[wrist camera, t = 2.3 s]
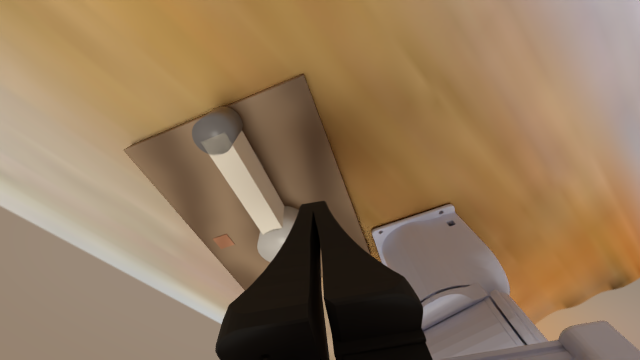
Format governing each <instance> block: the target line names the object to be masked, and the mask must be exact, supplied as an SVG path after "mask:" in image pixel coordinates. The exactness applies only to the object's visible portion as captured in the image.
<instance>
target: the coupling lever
mask: <svg viewBox="0 0 640 360" xmlns="http://www.w3.org/2000/svg"><path fill="white" fill-rule="evenodd" d="M242 128H243V123H242V120H241V118H240V116H239V115H238V113H237V112H236V111H234V110H233V109H231V108H228V107H217V108H215V109H213V110H212V111H211V112H209V113H208V114H207V115H205V116H204V117H203V118H201V119H200V120H199V121H197V122H196V123H195V125H194V126H193V129H192V138H193V141H194V143H195V144H196V145H197V147H198V148H199V149H200V150H202V151H203V152H205V153H207V154H209V155H210V157H211V158H212V160H213V161H214V163H215V164H216V166H217V167H218V169H219V170H220V172H221V173H222V175H223V176H224V177H225V179H226V180H227V182H228V183H229V185H230V186H231V188H232V189H233V191H234V192H235V194H236V195H237V197H238V198H239V200H240V201H241V203H242V204H243V206H244V207H245V209H246V210H247V212H248V213H249V215H250V216H251V218H252V219H253V221H254V222H255V224H256V225H257V227H258V228H259V230H260V234H259V239H258V244H257V249H258V252H259V254H260V255H261V256H262V257H263V258H264V259H265V260H267V261H269V262H271V261H272V260H273V259H274V257H275V256H276V254H277V253H278V251H279V250H280V248H281V247H282V245H283V243H284V242H285V240H286V238H287V236H288V234H289V232H290V230H291V228H292V226H293V224H294V222H295V219H296V217H297V214H298V211H299V210H297V209H296V208H293V207H289V206H284V205H283V203H282V201H281V199H280V197H279V196H278V194H277V192H276V190H275V189H274V187H273V185H272V183H271V181H270V180H269V178H268V176H267V174H266V172H265V171H264V169H263V167H262V165H261V163H260V162H259V160H258V158H257V156H256V155H255V153H254V151H253V149H252V147H251V146H250V144H249V142H248V140H247V138H246V137H245V135H244V133H243V131H242Z"/></svg>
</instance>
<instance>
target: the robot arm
mask: <svg viewBox="0 0 640 360" xmlns="http://www.w3.org/2000/svg"><path fill="white" fill-rule="evenodd" d="M440 211H441V212H440ZM379 231H381V232H379ZM372 235H373V238H374V241H375V244H376V247H377V250H378V253H379V256H380V259H381V261H382V263H381V262H379V261H378V260H376V259H375V258H374V257H373V256H371V255H370V254H369V253H367V252H366V251H365V250H364V249H362V248H361V247H360V246H359V245H358V244H357V243H356V242H355V241H354V240H353V239H352V238H351V237H350V236H349V235H348V234H347V233H346V232H345V231H344V229H343V228H342V227H341V226H340V225H339V223H338V222H337V220H336V219H335V218H334V216H333V215H332V213H331V211H330V210H329V208H328V206H327V203H326V202H325V201H318V202H312V203H306V204H301V206H300V208H299V211H298V214H297V217H296V219H295V222H294V224H293V226H292V228H291V230H290V232H289V234H288V236H287V238H286V240H285V242H284V243H283V245H282V247H281V248H280V250H279V251H278V253H277V254H276V256H275V257H274V259H273V260H272V261H271V263H270V264H269V265H268V266H267V268H266V269H265V270H264V271H263V273H262V274H261V275H260V276H259V277H258V278H257V279H256V280H255V281H254V282H253V284H252V285H251V286H250V287H249V288H248V289H247V290H245V291H244V292H243V293H242V294H241V295H240V296H239V297H238V298H237V299H236V300H234V301H233V302H232V303H231V304H230V305H229V307H228V309H227V312H226V314H225V317H224V319H223V322H222V325H221V329H220V332H219V336H218V339H217V343H216V353H217V356H218V357H219V359H220V360H329V352H328V344H327V336H326V327H325V318H324V310H323V301H322V290H321V257H322V270H323V288H324V301H325V305H326V310H327V314H328V319H329V323H330V328H331V332H332V339H333V347H334V355H335V357H336V360H640V351H639V350H638V349H637V348H636V347H635V346H633V344H631V343H630V342H629V341H628V340H627V339H626V338H625V337H624V336H622V335H621V334H620V333H619V332H618V331H617V330H615V328H614V327H612V326H611V325H610V324H609V323H608V322H606V321H597V322H591V323H585V324H578V325H574V326H570V327H568V328H566V329H565V330H563V331H562V333H561V334H560V336H559V340H555V341H548V340H547V339H546V338H545V337H544V335H543V334H542V333H541V332H540V331H539V330H538V329H537V327H536V326H535V325H534V324H533V323H532V321H531V320H530V319H529V318H528V317H527V316H526V314H525V313H524V312H523V311H522V310H521V309H520V307H519V306H518V305H517V304H516V303H515V302H514V301H513V299H512V298H511V297H510V296H509V294H510V287H509V283H508V279H507V276H506V274H505V272H504V270H503V268H502V266H501V265H500V263H499V261H498V260H497V258H496V257H495V255H494V254H493V253H492V251H491V250H490V249H489V248H488V247H487V246H486V245H485V244H484V242H483V241H482V240H481V239H480V238H479V237H478V236H477V235H476V234H475V233H474V232H473V231H472V230H471V229H470V228H469V227H468V225H467V224H466V223H465V222H464V221H463V220H462V219H461V218H460V217H459V216H458V215H457V214H456V213H455V208H454V206H453V205H452V204H448V205H445V206H442V207H439V208H436V209H433V210H430V211H427V212H424V213H421V214H418V215H415V216H412V217H409V218H406V219H403V220H400V221H397V222H393V223H390V224H387V225H384V226H381V227H378V228H375V229H373V230H372Z"/></svg>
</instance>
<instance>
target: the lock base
mask: <svg viewBox="0 0 640 360" xmlns="http://www.w3.org/2000/svg"><path fill="white" fill-rule="evenodd" d="M224 107H228V108H231V109H233V110H234V111H236V112H237V113H238V115H239V116H240V118H241V120H242V123H243V128H242V131H243V133H244V135H245V137H246V138H247V140H248V142H249V144H250V146H251V147H252V149H253V151H254V153H255V155H256V156H257V158H258V160H259V162H260V163H261V165H262V167H263V169H264V171H265V172H266V174H267V176H268V178H269V180H270V181H271V183H272V185H273V187H274V189H275V190H276V192H277V194H278V196H279V197H280V199H281V201H282V203H283V205H284V206H289V207H293V208H296V209H297V210H299V208H300V206H301V204H306V203H312V202H318V201H325V202H326V203H327V206H328V208H329V210H330V211H331V213H332V215H333V216H334V218H335V219H336V220H337V222H338V223H339V225H340V226H341V227H342V228H343V229H344V231H345V232H346V233H347V234H348V235H349V236H350V237H351V238H352V239H353V240H354V241H355V242H356V243H357V244H358V245H359V246H360V247H361V248H362V249H364V250H365V251H366V252H367V253H369V254H370V252H369V249H368V246H367V244H366V241H365V238H364V236H363V233H362V230H361V228H360V225H359V222H358V219H357V217H356V214H355V211H354V209H353V206H352V203H351V201H350V198H349V195H348V193H347V190H346V187H345V184H344V182H343V179H342V176H341V174H340V171H339V168H338V166H337V163H336V160H335V158H334V155H333V152H332V149H331V147H330V144H329V141H328V139H327V136H326V133H325V131H324V128H323V125H322V123H321V120H320V117H319V115H318V112H317V109H316V106H315V104H314V101H313V98H312V96H311V93H310V90H309V88H308V85H307V82H306V80H305V77H304V74H301V75H299V76H296V77H294V78H292V79H289V80H287V81H284V82H282V83H280V84H277V85H275V86H272V87H270V88H268V89H265V90H263V91H260V92H258V93H255V94H253V95H251V96H248V97H246V98H243V99H241V100H239V101H236V102H234V103H231V104H229V105H227V106H224ZM207 114H208V113H207ZM207 114H205V115H207ZM205 115H203V116H200V117H198V118H195V119H193V120H191V121H188V122H186V123H183V124H181V125H178V126H176V127H174V128H171V129H169V130H166V131H164V132H162V133H159V134H157V135H154V136H152V137H150V138H147V139H145V140H142V141H140V142H138V143H135V144H133V145H131V146H129V147H128V148H126V149H124V151H125V153H126V154H127V155H128V156H129V157H130V158H131V160H132V161H133V162H134V163H135V164H136V165H137V166H138V168H139V169H140V170H141V171H142V172H143V173H144V175H145V176H146V177H147V178H148V179H149V180H150V181H151V183H152V184H153V185H154V186H155V187H156V188H157V190H158V191H159V192H160V193H161V194H162V195H163V196H164V198H165V199H166V200H167V201H168V202H169V203H170V205H171V206H172V207H173V208H174V209H175V210H176V211H177V213H178V214H179V215H180V216H181V217H182V218H183V220H184V221H185V222H186V223H187V224H188V225H189V226H190V228H191V229H192V230H193V231H194V232H195V233H196V235H197V236H198V237H199V238H200V239H201V240H202V241H203V243H204V244H205V245H206V246H207V247H208V248H209V250H210V251H211V252H212V253H213V254H214V255H215V256H216V258H217V259H218V260H219V261H220V262H221V263H222V264H223V266H224V267H225V268H226V269H227V270H228V271H229V273H230V274H231V275H232V276H233V277H234V278H235V279H236V281H237V282H238V283H239V284H240V285H241V286H242V288H243V289H244V290H247V289H248V288H249V287H250V286H251V285H252V284H253V282H254V281H255V280H256V279H257V278H258V277H259V276H260V275H261V274H262V273H263V271H264V270H265V269H266V268H267V266H268V265H269V264H270V263H271V262H269V261H267V260H265V259H264V258H263V257H262V256H261V255H260V254H259V252H258V249H257V244H258V239H259V234H260V230H259V228H258V227H257V225H256V224H255V222H254V221H253V219H252V218H251V216H250V215H249V213H248V212H247V210H246V209H245V207H244V206H243V204H242V203H241V201H240V200H239V198H238V197H237V195H236V194H235V192H234V191H233V189H232V188H231V186H230V185H229V183H228V182H227V180H226V179H225V177H224V176H223V175H222V173H221V172H220V170H219V169H218V167H217V166H216V164H215V163H214V161H213V160H212V158H211V157H210V155H209V154H207V153H205V152H203V151H202V150H200V149H199V148H198V147H197V145H196V144H195V143H194V141H193V138H192V129H193V126H194V125H195V123H196V122H197V121H199V120H200V119H201V118H203V117H204V116H205ZM321 277H323V270H322V257H321Z"/></svg>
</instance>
